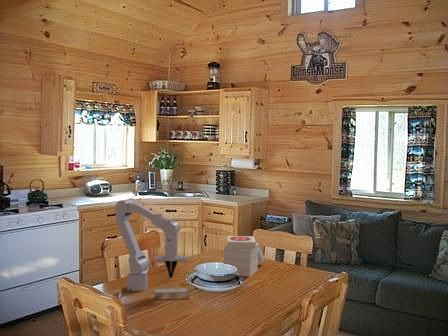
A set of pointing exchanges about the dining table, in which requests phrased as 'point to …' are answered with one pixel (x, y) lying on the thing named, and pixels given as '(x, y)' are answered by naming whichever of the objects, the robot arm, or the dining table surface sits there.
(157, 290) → the grey board
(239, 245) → the pizza boxes
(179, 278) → the dining table surface
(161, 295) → the walnut plank
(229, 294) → the dining table surface
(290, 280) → the dining table surface
